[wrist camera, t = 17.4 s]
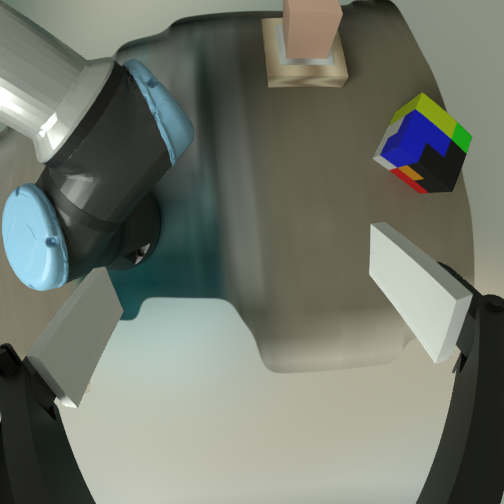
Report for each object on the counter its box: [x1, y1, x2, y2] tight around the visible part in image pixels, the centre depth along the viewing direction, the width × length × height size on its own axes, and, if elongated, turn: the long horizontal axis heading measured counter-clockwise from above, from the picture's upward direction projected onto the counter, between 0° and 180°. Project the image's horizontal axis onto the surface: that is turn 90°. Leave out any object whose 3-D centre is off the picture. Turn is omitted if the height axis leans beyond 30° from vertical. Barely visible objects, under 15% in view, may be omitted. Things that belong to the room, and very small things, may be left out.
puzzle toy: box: [372, 93, 472, 193], centre depth 34 cm, size 10×10×10 cm
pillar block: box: [282, 0, 343, 59], centre depth 27 cm, size 6×6×12 cm
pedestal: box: [261, 18, 348, 88], centre depth 35 cm, size 12×12×5 cm
